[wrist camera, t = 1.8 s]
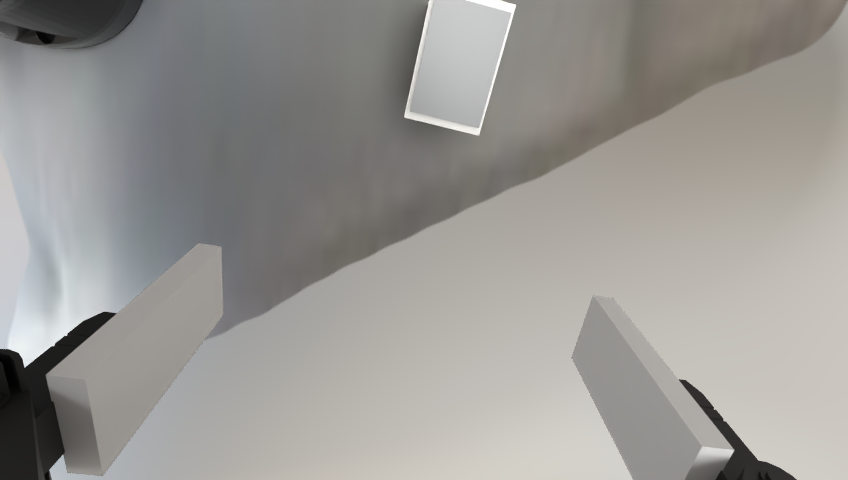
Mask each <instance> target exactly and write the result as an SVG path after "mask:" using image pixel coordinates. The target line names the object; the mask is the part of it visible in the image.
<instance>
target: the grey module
mask: <svg viewBox="0 0 848 480" xmlns="http://www.w3.org/2000/svg"><path fill="white" fill-rule="evenodd" d="M515 7H516V5H514V4H511V3H507V2H504V1H500V0H429V3H428V8H427V12H426V17H425V22H424V26H423V31H422V36H421V40H420V45H419V49H418V54H417V59H416V63H415V68H414V73H413V77H412V82H411V87H410V91H409V96H408V101H407V106H406V111H405V116H404V117H405V118H409V119H413V120H417V121H421V122H425V123H429V124H433V125H437V126H442V127H446V128H450V129H454V130H458V131H462V132H466V133H470V134H474V135H478V136H479V134H480V130H481V126H482V123H483V119H484V116H485V112H486V109H487V105H488V102H489V98H490V95H491V91H492V88H493V84H494V81H495V77H496V74H497V70H498V67H499V63H500V60H501V56H502V53H503V49H504V46H505V42H506V39H507V35H508V32H509V28H510V25H511V21H512V18H513V14H514V11H515Z"/></svg>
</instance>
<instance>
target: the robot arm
mask: <svg viewBox="0 0 848 480" xmlns="http://www.w3.org/2000/svg"><path fill="white" fill-rule="evenodd" d="M141 1H142V0H0V35H1V36H4V37H6V38H9V39H11V40H14V41H17V42H21V43H24V44H29V45H34V46H39V47H48V48H81V47H88V46H93V45H96V44H99V43H102V42H104V41H106V40H108V39H110V38H112V37H113V36H115V35H116V34H117V33H119V32H120V31H121V30H122V29H123V28H124V27H125V26H126V25H127V24H128V23H129V22H130V21H131V19H132V18H133V16H134V15H135V13H136V11H137V10H138V8H139V6H140V3H141ZM222 316H223V286H222V249H221V246H215V245H207V244H200V243H198V244H197V245H196V246H195V247H193V248H192V249H191V250H190V251H189V252H188V253H187V254H185V255H184V256H183V257H182V258H181V259H180V260H178V261H177V262H176V263H175V264H174V265H173V266H171V267H170V268H169V269H168V270H167V271H166V272H164V273H163V274H162V275H161V276H160V277H159V278H158V279H156V280H155V281H154V282H153V283H152V284H151V285H149V286H148V287H147V288H146V289H145V290H144V291H142V292H141V293H140V294H139V295H138V296H137V297H135V298H134V299H133V300H132V301H131V302H130V303H129V304H127V305H126V306H125V307H124V308H123V309H122V310H120V311H119V312H118V313H110V312H102V313H100V314H98V315H96V316H94V317H92V318H89V319H87V320H85V321H83V322H82V323H80V324H79V325H78V326H77V327H75V328H74V329H73V330H72V331H70V332H69V333H68V335H67V336H64V337H63V338H62V339H60V340H59V341H58V342H57V343H55V346H54V347H53V346H52V347H50V348H49V349H48V350H47V351H45V352H44V353H43V354H42V355H40V356H39V357H38V358H37V359H35V360H34V361H33V362H32V363H30V364H29V365H28V366H26V367H25V368H24V364H23V360H22V358H21V356H20V355H19V353H17V352H14V351H12V350H9V349H0V480H52V479H51V476H50V471H49V469H50V468H51V467H52V466H53V465H54V464H55V463H56V461H57V460H58V459H59V458H60V457H61V456H62V455H64V459H65V464H66V469H67V473H76V474H86V475H97V476H103V475H104V474H105V473H106V471H107V470H108V469H109V467H110V466H111V465H112V463H113V462H114V461H115V459H116V458H117V457H118V455H119V454H120V453H121V451H122V450H123V449H124V447H125V446H126V445H127V443H128V442H129V441H130V439H131V438H132V437H133V435H134V434H135V433H136V431H137V430H138V429H139V427H140V426H141V424H142V423H143V422H144V420H145V419H146V418H147V416H148V415H149V414H150V412H151V411H152V410H153V408H154V407H155V406H156V404H157V403H158V402H159V400H160V399H161V398H162V396H163V395H164V394H165V392H166V391H167V390H168V388H169V387H170V386H171V384H172V383H173V382H174V380H175V379H176V378H177V376H178V375H179V374H180V372H181V371H182V370H183V368H184V367H185V365H186V364H187V363H188V362H189V360H190V359H191V358H192V356H193V355H194V353H195V352H196V350H197V349H198V348H199V347H200V345H201V344H202V343H203V341H204V340H205V339H206V337H207V336H208V335H209V333H210V332H211V331H212V329H213V328H214V327H215V325H216V324H217V323H218V321H219V320H220V319H221V317H222ZM572 359H573V361H574V363H575V365H576V367H577V369H578V371H579V373H580V375H581V377H582V379H583V381H584V383H585V385H586V387H587V389H588V391H589V393H590V395H591V397H592V399H593V401H594V403H595V405H596V407H597V409H598V411H599V413H600V415H601V416H602V419H603V420H604V423H605V425H606V427H607V429H608V431H609V432H610V434H611V436H612V438H613V440H614V442H615V444H616V446H617V448H618V450H619V452H620V454H621V456H622V458H623V460H624V462H625V464H626V466H627V468H628V470H629V472H630V474H631V476H632V478H633V480H796V479H795V478H794V477H793V476H792V475H790V474H788V473H787V472H785V471H784V470H782V469H781V468H779V467H776V466H774V465H772V464H769V463H767V462H762V461H758V460H757V458H756V457H755V456H754V455H753V454H752V452H751V451H749V449H748V448H747V447H746V445H745V444H744V443H743V442H742V440H741V439H740V438H739V437H738V436H737V435H736V433H735V432H734V431H733V430H732V428H731V427H730V426H729V425H728V424H727V422H725V421H723V418H722V416H721V415H720V414H719V413H718V412H717V411H716V410H714V407H713V406H712V405H711V403H710V402H709V401H708V400H707V399H706V397H705V396H704V395H703V394H702V393H701V392H700V391H699V390H697V389H696V388H695V387H693V386H692V385H691V384H690V383H688V382H687V381H686V380H680V379H679V380H678V379H677V377H676V376H675V375H674V374H673V372H672V371H671V370H670V368H669V367H668V366H667V365H666V364H665V362H664V361H663V360H662V358H660V356H659V355H658V353H657V352H656V351H655V350H654V348H653V347H652V346H651V345H650V343H649V342H648V341H647V340H646V338H645V337H644V336H643V335H642V333H641V332H640V331H639V330H638V328H637V327H636V326H635V325H634V323H633V322H632V321H631V320H630V318H629V317H628V316H627V315H626V313H625V312H624V311H623V310H622V308H621V307H620V306H619V305H618V303H617V302H616V301H615V299H614V298H609V297H601V296H593V297H592V300H591V303H590V306H589V308H588V311H587V314H586V317H585V320H584V323H583V326H582V329H581V332H580V334H579V337H578V340H577V343H576V346H575V349H574V352H573V355H572Z"/></svg>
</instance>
